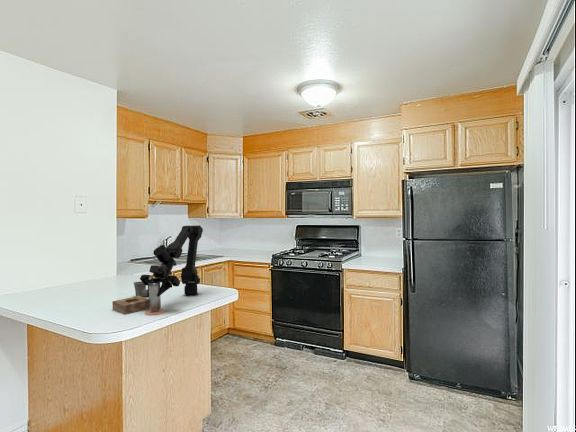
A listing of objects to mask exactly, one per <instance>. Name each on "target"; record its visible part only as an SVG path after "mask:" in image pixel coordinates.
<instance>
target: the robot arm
mask: <svg viewBox="0 0 576 432" xmlns="http://www.w3.org/2000/svg"><path fill="white" fill-rule="evenodd" d="M203 230H204V229H203V227H202V226H201V225H183V226H182V227H181V230H180V232H179V233H178V235H177V236H176V238H175V239H174V241H173V242H172V243H169V244H168V245H167V246H166V245H165V244H160V246H157V247H156V248H155V249H154V250H153V252H152V254H153V255H154V256H155V258H156V260H157V261H158V262H159V263H161V264H160V265H158V264H157V265H156V264H153V265H152V264H151V265H150V268H149V271H148V272H149V273H151V274H152V276H151V275H150V274H141V275H140V277H139V280H140V282H143V283H144V285H146V286H147V290H148V291H147V295H148V296H147V297H149V283H150V282H156V281H158V282H160V283H161V284H160V290H159V292H158V295H157V296H158V297H159V296H160V297H161V296H162V295H163V294H164V293H166V292H167V290H169V289H171V288H173V287H179V286H180V284H182V285H184V286H183V287H184V291H183V293H184V295H185V297H188V296H189V297H190V296H198V295H199V293H198V285H199V284H200V283H201V278H200V276H199V275H198V270H197V268H196V262H197V261H196V260H197V253H198V252H197V251H198V243H199V240H200V239H201V238H202V234H203V232H204V231H203ZM187 240H188V247H187V255H186V263H185V266H184V267H182V268H181V274H180V279H181V280H180V279H179V278H178V277H177V275H174V274H173V275H172V270H173V267H174V266H175V267H176V266H177V262H176V260H175V259H179V258H180V257H181V256H182V253H183V246H184V245H185V243H186V241H187Z"/></svg>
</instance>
